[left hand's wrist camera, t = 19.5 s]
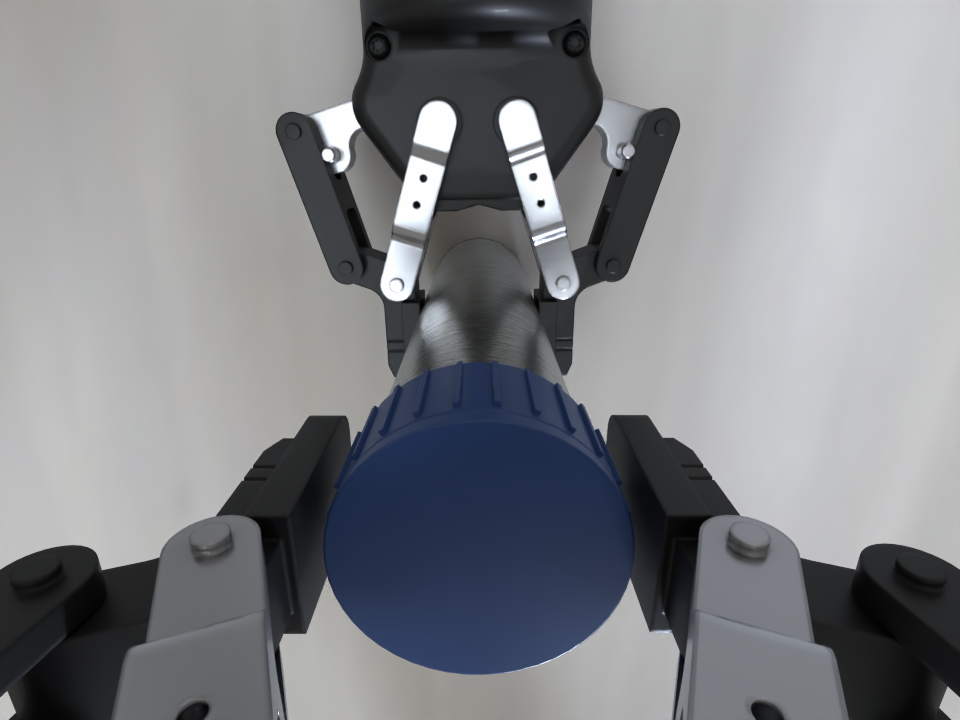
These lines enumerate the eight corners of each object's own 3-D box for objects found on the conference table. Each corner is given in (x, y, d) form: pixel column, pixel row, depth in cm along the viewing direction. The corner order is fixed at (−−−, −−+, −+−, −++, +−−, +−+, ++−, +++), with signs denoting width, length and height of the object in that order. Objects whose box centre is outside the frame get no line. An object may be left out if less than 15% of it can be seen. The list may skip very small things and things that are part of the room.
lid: (397, 318, 10) (372, 366, 8) (651, 410, 10) (698, 479, 8) (322, 537, 11) (283, 631, 9) (546, 605, 12) (561, 709, 10)
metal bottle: (510, 334, 29) (564, 656, 10) (426, 313, 28) (326, 608, 10) (534, 251, 27) (651, 450, 9) (447, 228, 27) (373, 384, 8)
